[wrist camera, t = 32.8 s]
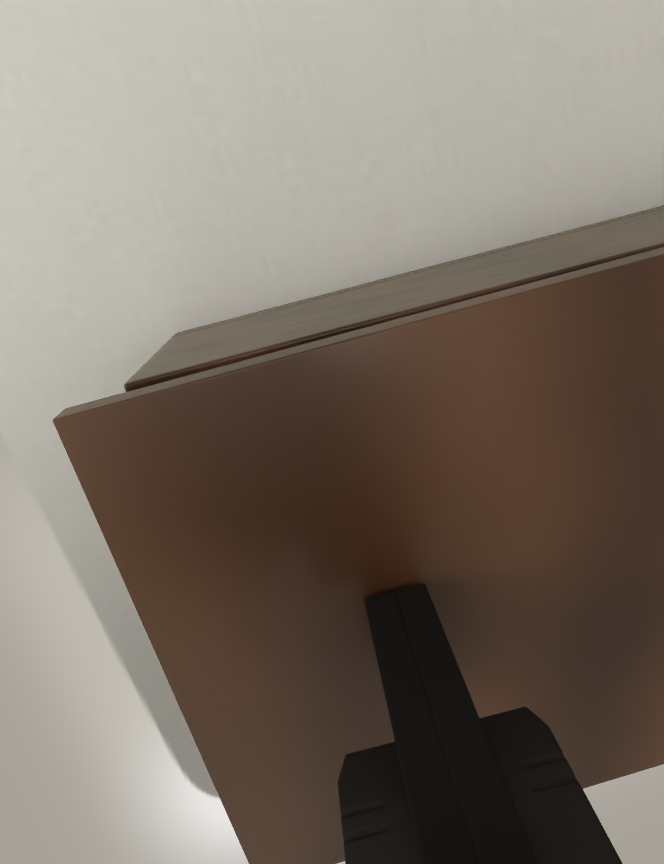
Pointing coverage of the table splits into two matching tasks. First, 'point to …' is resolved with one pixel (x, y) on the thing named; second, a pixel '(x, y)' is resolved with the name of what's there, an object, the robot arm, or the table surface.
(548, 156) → the table surface
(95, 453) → the chest lid
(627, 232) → the chest
